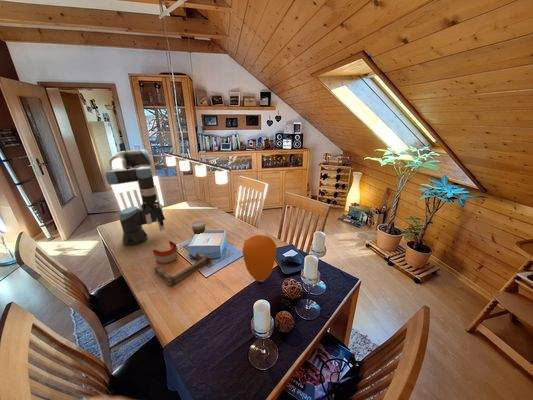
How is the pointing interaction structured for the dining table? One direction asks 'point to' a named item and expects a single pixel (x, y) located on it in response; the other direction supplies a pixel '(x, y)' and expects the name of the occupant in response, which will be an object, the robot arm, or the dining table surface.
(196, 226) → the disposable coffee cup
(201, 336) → the dining table surface
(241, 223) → the dining table surface
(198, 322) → the dining table surface
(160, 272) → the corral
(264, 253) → the orange egg-shaped ornament
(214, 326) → the dining table surface
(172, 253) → the toy
